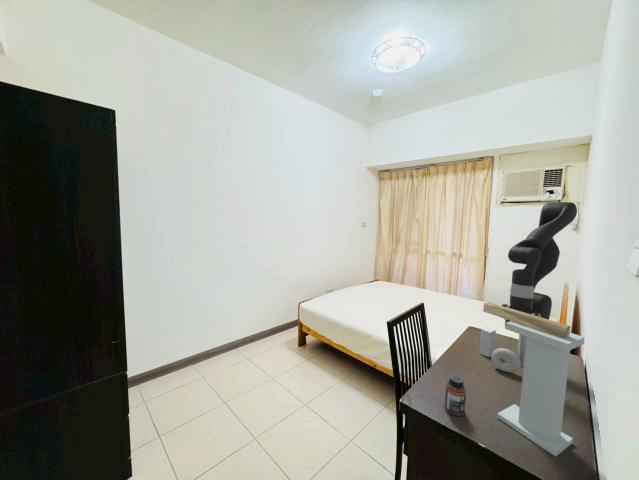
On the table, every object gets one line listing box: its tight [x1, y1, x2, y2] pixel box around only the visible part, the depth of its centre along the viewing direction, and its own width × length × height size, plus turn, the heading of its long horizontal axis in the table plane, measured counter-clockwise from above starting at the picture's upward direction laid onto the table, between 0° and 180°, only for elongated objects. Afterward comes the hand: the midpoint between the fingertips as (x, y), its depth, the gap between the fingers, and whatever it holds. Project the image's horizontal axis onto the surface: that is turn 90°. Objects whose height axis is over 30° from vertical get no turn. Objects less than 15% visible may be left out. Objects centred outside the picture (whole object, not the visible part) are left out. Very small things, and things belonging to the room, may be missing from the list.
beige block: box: [483, 301, 572, 338], centre depth 80 cm, size 3×22×3 cm, turn 26°
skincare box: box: [479, 326, 497, 358], centre depth 122 cm, size 6×4×12 cm
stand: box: [496, 321, 585, 457], centre depth 77 cm, size 10×15×32 cm, turn 26°
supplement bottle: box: [444, 374, 467, 417], centre depth 85 cm, size 6×6×11 cm
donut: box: [490, 347, 521, 373], centre depth 108 cm, size 10×4×10 cm, turn 51°
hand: (519, 333), depth 106 cm, fingers open, 8 cm apart
